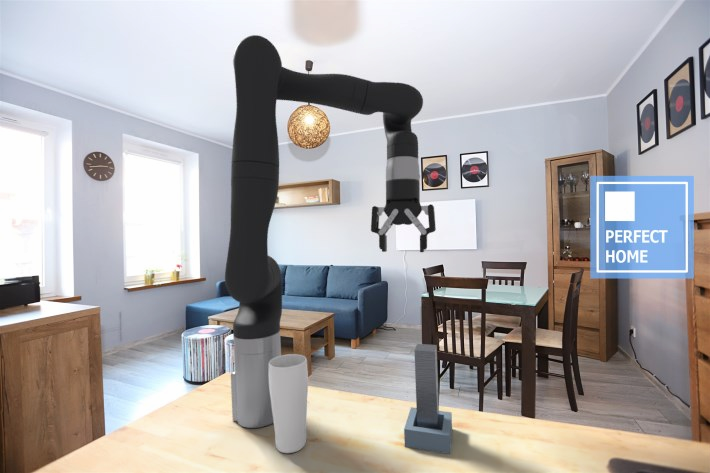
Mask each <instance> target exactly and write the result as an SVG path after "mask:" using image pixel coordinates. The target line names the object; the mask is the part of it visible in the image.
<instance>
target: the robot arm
mask: <svg viewBox="0 0 710 473" xmlns="http://www.w3.org/2000/svg"><path fill="white" fill-rule="evenodd" d="M232 57H233V59H232V64H233V73H234V79H235V80H234V82H235V96H236V97H235V98H236V100H235V101H236V112H235V113H236V114H235V121H234V130H233V138H232V139H233V140H232V153H231V162H230V163H231V168H230V170H231V171H230V191H231V192H230V233H229V241H228V250H227V257H226V264H225V271H224V272H225V273H224V284H225V287H226V290H227V292H228V295H230V296H231V298H232V299H233V300H235V302H238V303H239V305H238V311H237V314H236V316H235V317H234V318H235V319H234V320H233V324H232V330H233V331H232V334H233V335H232V336H233V358H234V360H233V361H234V371H232V372H231V373H230V387H231V388H230V389H231V391H230V393H231V412H232V416H231V417H232V421H235V422H237V424H238V425H239V426H241V427H244V428H248V429H257V428H263V427H266V426H267V427H268V426H270V425H272V424H274V422H273V414H272V407H271V399H270V391H269V378H268V366H269V365H268V363H269V361H270V360H271V359H273V358H275V357H277V356H281V355H282V349H281V348H282V346H281V342H282V341H281V318H282V314H283V313H282V312H283V285H282V283H283V282H282V281H283V280H282V272H281V268H280V266H279V264H278V262H277V261H276V260H275V259H274V258H273V257H271V256H270V255H268V254H269V253H268V236H269V235H268V234H269V227H270V222H271V219H272V216H273V212H274V210H275V206H276V204H277V199H278V194H279V184H280V151H279V150H280V148H279V139H278V138H279V137H278V127H277V113H276V112H277V101H278V100H279V101H288V102H289V101H291V102H297V103H307V104H314V105H318V106H319V105H320V106H324V107H330V108H335V109H340V110H343V111H348V112H351V113H355V114H360V115H364V116H371V115H373V114H375V113H382V123H383V124H382V125H383V128H384V134H385V138H386V166H385V206H376V205H374V206H373V207H372V208H371V223H370V232H372V233H374V234H377V235H378V247H379V250H381V252H382V253H384V252H387V251H388V249H387V248H388V242H387V239H388V238H387V237H388V235H386V234H387V233H388V231H389V230H390V229H391V228H392V226H393V225H395V226H401V225H407V226H411V225H412V224H413V225H414V226H415V228H416V229H417V230H418V231H419V232H420V235H419V253H425V250H427V248H428V235H429V234H431V233H434V232H436V230H437V229H436V214H435V206H434V205H433V204H429V205H421V202H420V200H421V199H420V198H421V197H420V194H421V193H420V190H421V189H420V188H421V187H420V186H421V185H420V180H421V175H420V164H419V139H418V136H417V135H416V133H415V132H413V130H412V120H413V119H414V118H415V117H416V116H417V115H419V114H420V113H421V111H422V108H423V106H424V98H423V95H422V94H421V91H420V90H418V89H417V88H416V87H415V86H413V85H410V84H407V83H402V82H392V81H391V82H390V81H389V82H388V81H377V82H376V81H371V80H368V79H365V78H360V77H357V76H353V75H350V74H343V73H342V74H341V73H304V72H298V71H295V70H292V69H290V68H286V67H284V66H283V65H282V64H283V63H282V59H281V55H280V53H279V51H278V50H277V47H276V46H275V45H274V44H273V42H272V41H270V40H269V39H268V38H266V37H264V36H262V35H249V36H247V37H244V38H243V39H242V40H241V41H239V43H238V44H237V45H236V48H235V50H234V53H233V56H232ZM422 211H423V213H424V214H425V215H426V216H428V227H426V228H425V226H424V225H423V223H422V222H421V221H420V220H419V218H418V217H419V216H420V214H421V213H422ZM383 213H384V214H385V215H386V217H387V219H386V220H385V221H384V222H383V225H381V227H380V226H379V224H380V217H381V216H382V215H383Z"/></svg>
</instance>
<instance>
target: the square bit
mask: <svg viewBox="0 0 710 473" xmlns="http://www.w3.org/2000/svg"><path fill="white" fill-rule="evenodd" d="M437 346H438V345H437V344H429V343H428V344H427V343H426V344H425V343H417V344H416V346H415V348H414V369H415V370H414V373H415V375H414V376H415V377H414V378H415V379H414V380H415V399H416V400H415V402H416V408H417V427H422V428H429V429H436V430H440V425H439V411H440V404H439V403H440V402H439V400H440V399H439V377H438V375H439V373H438V372H439V370H438V347H437Z"/></svg>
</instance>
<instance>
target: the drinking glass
mask: <svg viewBox="0 0 710 473" xmlns="http://www.w3.org/2000/svg"><path fill="white" fill-rule="evenodd" d="M268 365H269V366H268V378H269V391H270V399H271V407H272V414H273V422H274V423H273V428H274V429H273V430H274V438H275V439H274V442H275V447H276V450H277V451H279V452H280V453H282V454H283V453H284V454H292V453H296V452H298V451H301V450H302V449H303V448H304V447H305V445H306V443H307V417H308V416H307V415H308V409H307V408H308V392H309V391H308V390H309V371H308V370H309V369H308V360H307V357H306V356H305V355H303V354H299V353H289V354H288V353H287V354H281V356H277V357H275V358H273V359H271V360H270V361H269V363H268Z"/></svg>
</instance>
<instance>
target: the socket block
mask: <svg viewBox="0 0 710 473" xmlns="http://www.w3.org/2000/svg"><path fill="white" fill-rule="evenodd" d="M452 422H453V416H452V412H451V411H443V410H439V425H440V430H436V429H429V428H422V427H417V407H413V406H412V407H411V406H410V409H409V412H408V416H407V419H406V423H405V424H404V428H403V430H404V431H403V433H404V434H403V436H404V438H403V439H404V447H406V448H411V449H417V450H424V451H431V452H437V453H443V454H447V455H449V454H451V446H452V436H453V435H452V434H453V423H452Z"/></svg>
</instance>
